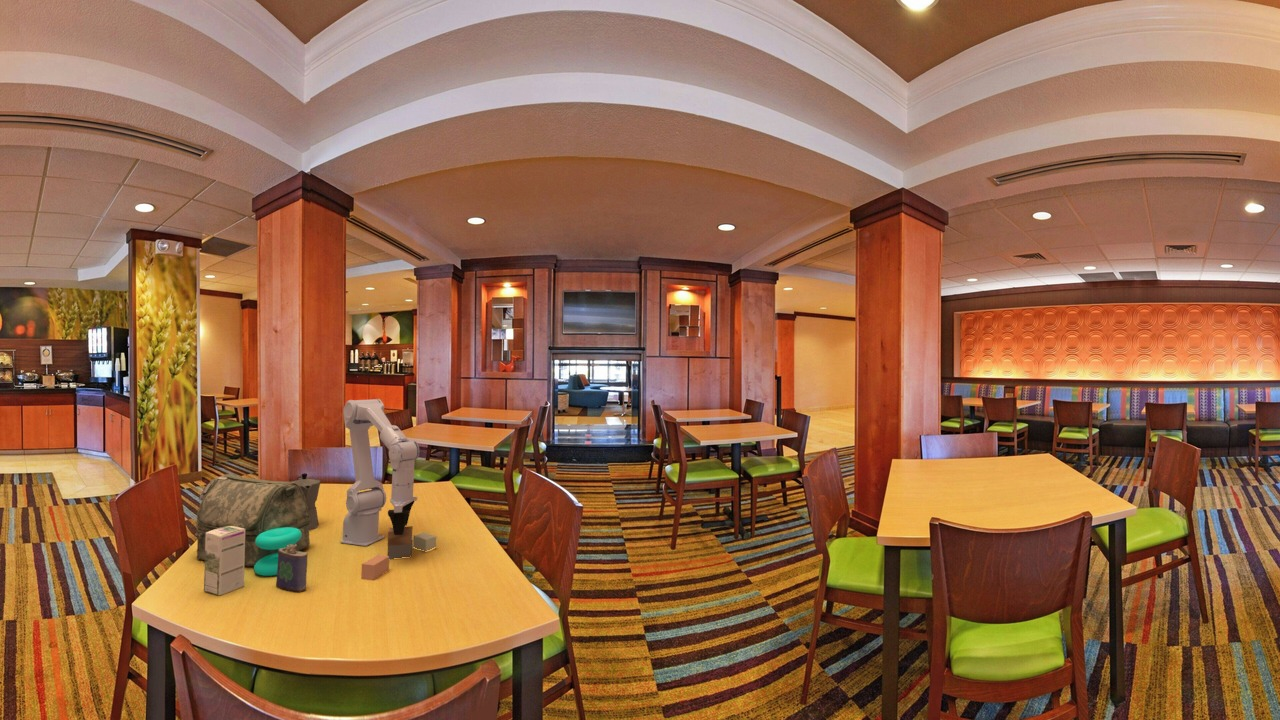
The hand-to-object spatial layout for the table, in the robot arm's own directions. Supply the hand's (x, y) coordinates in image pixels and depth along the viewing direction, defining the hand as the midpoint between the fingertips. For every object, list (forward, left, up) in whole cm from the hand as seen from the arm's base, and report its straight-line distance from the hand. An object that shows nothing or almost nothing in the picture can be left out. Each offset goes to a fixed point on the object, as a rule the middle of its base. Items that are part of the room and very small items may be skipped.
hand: (400, 529), depth 141 cm
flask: (-12, -24, -8) cm, 28 cm away
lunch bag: (-40, -11, -8) cm, 42 cm away
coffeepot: (-46, +11, -8) cm, 48 cm away
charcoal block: (0, 0, -8) cm, 8 cm away
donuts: (-24, -17, -8) cm, 30 cm away
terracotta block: (+2, -12, -8) cm, 15 cm away
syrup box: (-26, -29, -8) cm, 40 cm away
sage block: (+3, +7, -8) cm, 11 cm away
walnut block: (0, 0, -4) cm, 4 cm away
